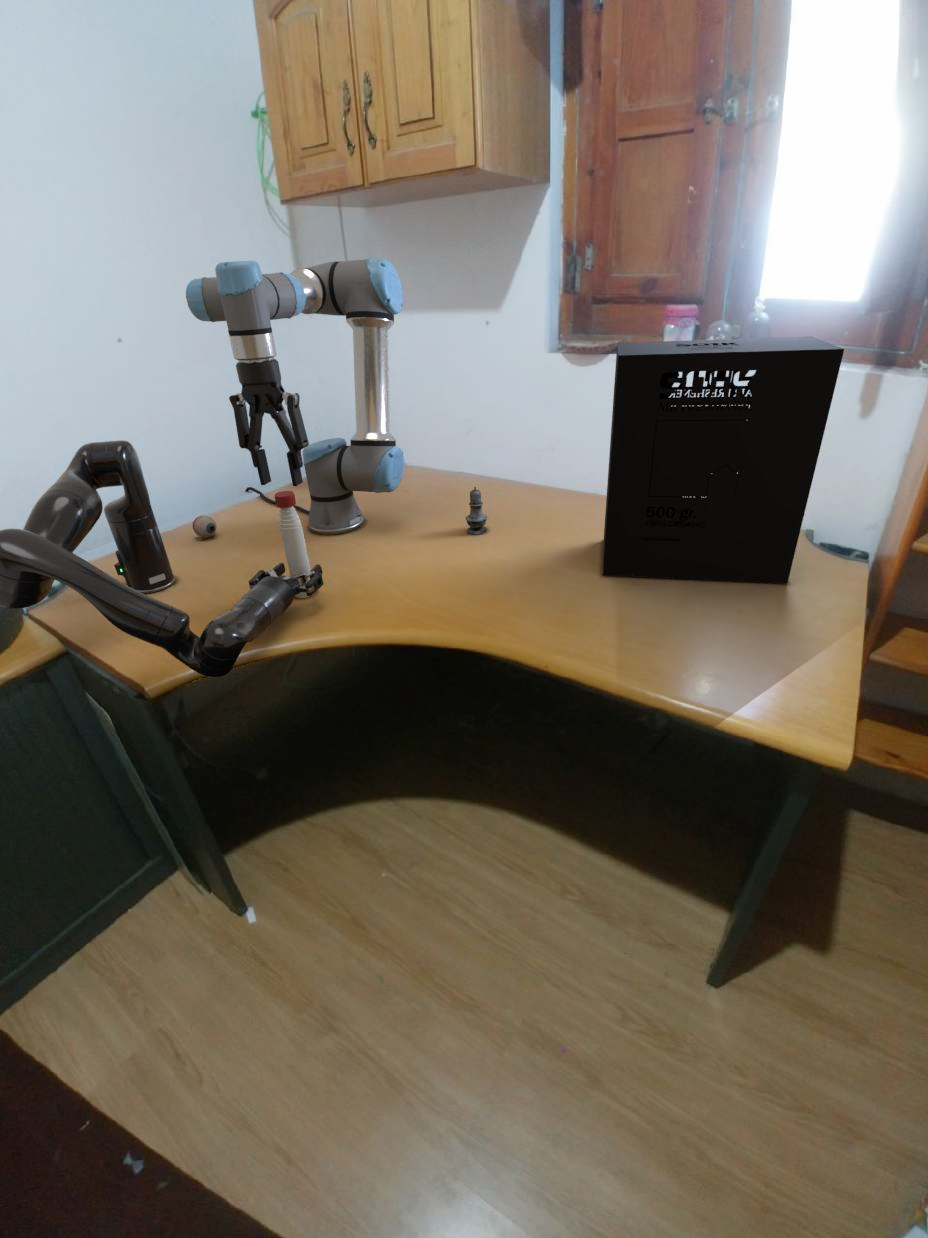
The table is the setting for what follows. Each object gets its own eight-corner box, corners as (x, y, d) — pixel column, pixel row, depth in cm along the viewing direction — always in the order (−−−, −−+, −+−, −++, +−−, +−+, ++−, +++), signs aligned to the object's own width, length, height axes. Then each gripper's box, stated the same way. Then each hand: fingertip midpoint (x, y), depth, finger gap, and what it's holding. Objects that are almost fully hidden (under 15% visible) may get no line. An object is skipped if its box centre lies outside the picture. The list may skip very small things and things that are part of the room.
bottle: (306, 599, 131) (285, 500, 120) (290, 596, 133) (268, 497, 121) (319, 591, 134) (300, 493, 123) (303, 587, 136) (283, 491, 125)
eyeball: (206, 542, 163) (200, 521, 160) (191, 538, 166) (185, 518, 163) (224, 534, 167) (218, 514, 164) (209, 531, 170) (203, 510, 167)
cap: (287, 509, 121) (285, 497, 120) (272, 507, 123) (270, 495, 121) (300, 502, 124) (298, 491, 123) (285, 500, 126) (282, 489, 124)
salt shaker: (485, 534, 157) (484, 490, 151) (463, 534, 158) (461, 489, 152) (489, 526, 162) (488, 482, 156) (468, 525, 163) (466, 482, 157)
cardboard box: (766, 545, 143) (811, 336, 120) (787, 583, 126) (844, 348, 103) (603, 539, 150) (617, 342, 128) (602, 575, 133) (618, 355, 111)
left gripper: (236, 617, 121) (275, 581, 134) (302, 621, 118) (334, 584, 131) (227, 583, 117) (268, 550, 131) (295, 587, 114) (329, 552, 128)
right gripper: (314, 355, 110) (334, 479, 122) (222, 358, 115) (250, 476, 127) (293, 361, 104) (317, 491, 115) (197, 363, 109) (229, 487, 120)
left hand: (301, 567), depth 131 cm, fingers open, 8 cm apart
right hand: (281, 483), depth 121 cm, fingers open, 6 cm apart
